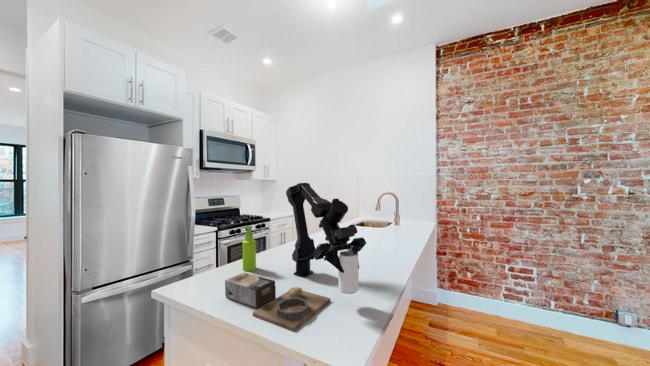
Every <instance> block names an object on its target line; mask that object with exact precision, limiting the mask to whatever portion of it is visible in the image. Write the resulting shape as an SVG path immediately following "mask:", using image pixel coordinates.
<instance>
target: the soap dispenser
mask: <svg viewBox="0 0 650 366" xmlns="http://www.w3.org/2000/svg"><path fill="white" fill-rule="evenodd" d="M252 228H253V226H252V225H244V226H241V227H239V229H240V230H242V229H246V232H245V234H244V237H245V238H244V240H243V241H242V270H243V271H245V272H250V271H251V272H253V271H255V270H256V269H257V251H256V249H257V246H256V242H257V241H256V239H254V237H253V236H254V235H253V232H252Z"/></svg>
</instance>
